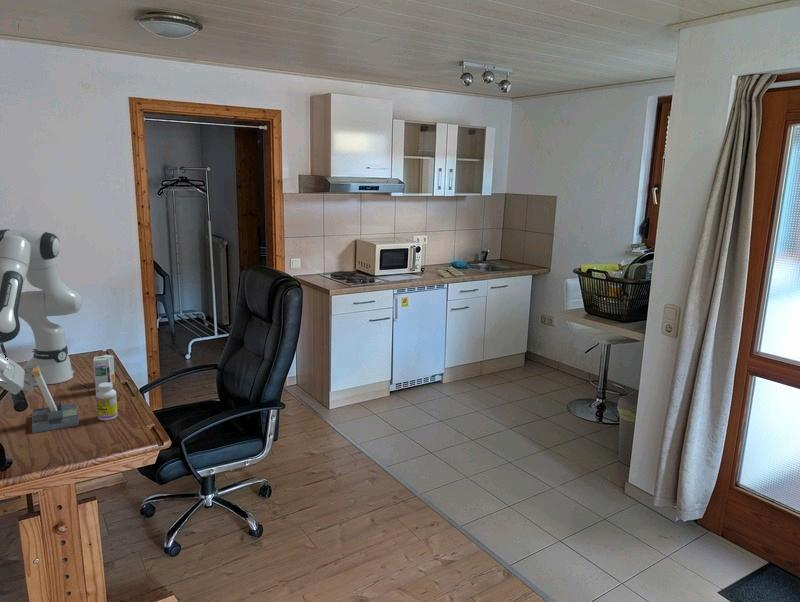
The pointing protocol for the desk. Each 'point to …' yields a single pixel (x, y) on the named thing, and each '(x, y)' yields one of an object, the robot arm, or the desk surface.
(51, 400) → the lever
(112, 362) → the skincare box
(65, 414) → the breaker panel
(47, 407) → the pair of grey rods
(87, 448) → the desk surface
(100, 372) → the syrup box
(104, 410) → the supplement bottle
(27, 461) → the desk surface
